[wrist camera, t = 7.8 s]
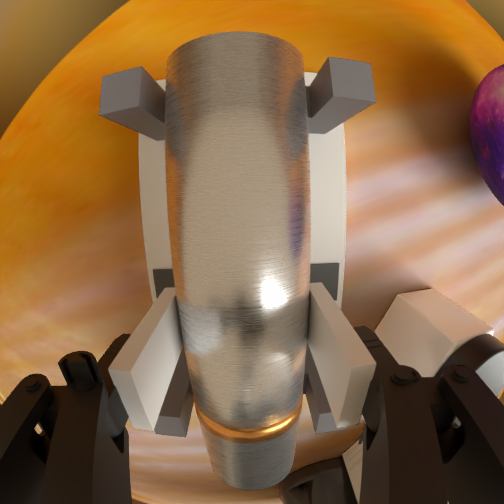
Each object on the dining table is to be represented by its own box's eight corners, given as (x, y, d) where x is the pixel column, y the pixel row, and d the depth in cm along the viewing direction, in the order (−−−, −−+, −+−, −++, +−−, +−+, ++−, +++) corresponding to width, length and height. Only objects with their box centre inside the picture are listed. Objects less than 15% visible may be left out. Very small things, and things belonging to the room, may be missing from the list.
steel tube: (302, 438, 17) (280, 499, 12) (230, 422, 19) (196, 475, 14) (313, 79, 12) (285, 18, 6) (207, 93, 14) (136, 60, 8)
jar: (408, 369, 25) (460, 440, 13) (357, 351, 24) (410, 442, 12) (452, 301, 23) (526, 354, 11) (407, 271, 22) (497, 330, 10)
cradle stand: (327, 371, 24) (357, 448, 14) (174, 376, 24) (147, 454, 14) (333, 81, 18) (386, 22, 8) (146, 89, 18) (86, 37, 8)
